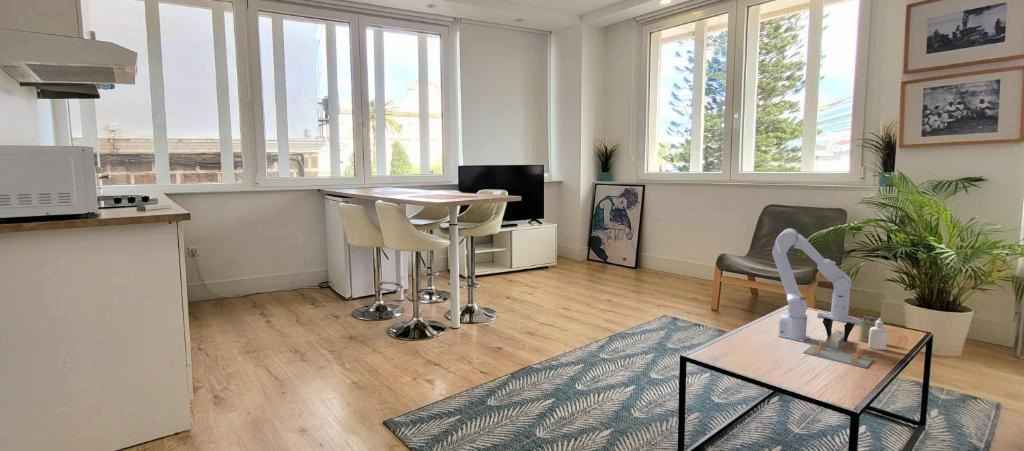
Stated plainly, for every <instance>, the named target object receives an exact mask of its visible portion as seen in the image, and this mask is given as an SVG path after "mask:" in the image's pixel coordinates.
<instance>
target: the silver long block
mask: <svg viewBox="0 0 1024 451" xmlns="http://www.w3.org/2000/svg"><path fill="white" fill-rule="evenodd" d="M844 332H845V330H843V329H842V330H841V329H836V330H834V331H833V333H831V335H830V336H829V337H827V338H826V339H825V342H826V348H825V349H830V350H834V351H838V352H839V350H840V349H841V348H842V347H843V346H844V345H845V344H846V343H847V342H848V341H849V338H848V339H847V341H846V342H844Z"/></svg>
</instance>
